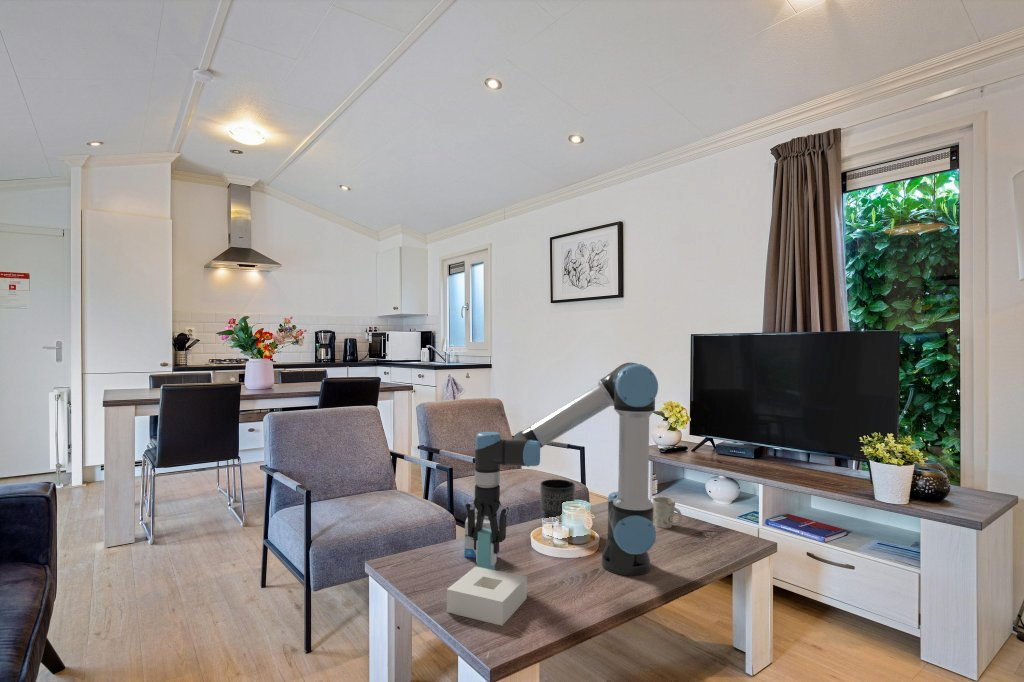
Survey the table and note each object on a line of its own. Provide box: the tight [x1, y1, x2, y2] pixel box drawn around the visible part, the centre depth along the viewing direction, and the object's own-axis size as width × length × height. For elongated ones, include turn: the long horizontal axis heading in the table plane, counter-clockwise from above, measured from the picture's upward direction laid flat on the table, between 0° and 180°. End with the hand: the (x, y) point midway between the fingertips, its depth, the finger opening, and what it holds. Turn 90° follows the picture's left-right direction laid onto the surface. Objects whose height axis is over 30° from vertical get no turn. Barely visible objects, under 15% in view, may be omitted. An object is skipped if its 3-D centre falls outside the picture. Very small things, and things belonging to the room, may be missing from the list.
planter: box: [539, 478, 576, 519], centre depth 207 cm, size 13×13×18 cm
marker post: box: [476, 528, 496, 570], centre depth 166 cm, size 4×4×14 cm
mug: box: [652, 496, 683, 529], centre depth 213 cm, size 8×13×10 cm, turn 40°
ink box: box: [463, 507, 491, 559], centre depth 183 cm, size 9×5×15 cm, turn 84°
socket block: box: [446, 565, 528, 626], centre depth 149 cm, size 16×16×6 cm
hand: (486, 562), depth 166 cm, fingers closed on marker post, 4 cm apart
